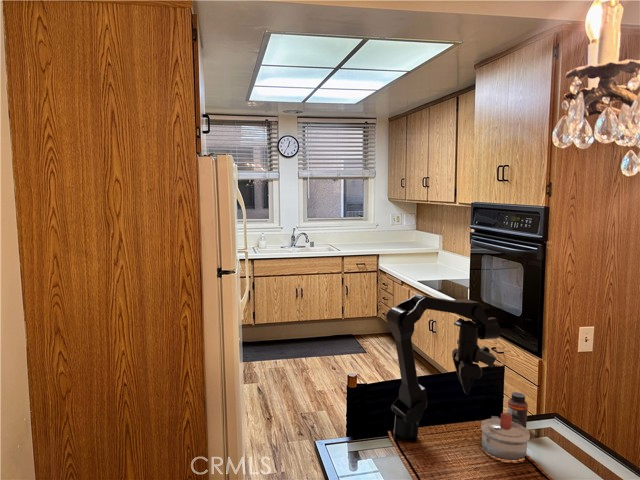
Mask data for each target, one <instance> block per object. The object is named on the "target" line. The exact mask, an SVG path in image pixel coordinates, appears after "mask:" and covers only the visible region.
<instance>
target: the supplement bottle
mask: <svg viewBox="0 0 640 480" xmlns="http://www.w3.org/2000/svg"><path fill="white" fill-rule="evenodd" d="M510 397H511V398H509V399H508V401H507V407H506V409H507V410H506V413H507V414H510V415H512V422H515V423H517V424H519V425H521V426H523V427H525V428H526V429H527V423H528V422H527V421H528V407H529V406H528V403H527V401H526V395H525V394H524V393H522V392H518V391H517V392H516V391H514V392H512V393H511V396H510Z"/></svg>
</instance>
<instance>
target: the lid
mask: <svg viewBox="0 0 640 480" xmlns="http://www.w3.org/2000/svg"><path fill="white" fill-rule="evenodd" d="M480 424H481V425H480V429H481V431H482V433H483V432H484V433H485V434H486V435H488V436H489V437H491V438H494V439H496V440H499V441H502V442H506V443H512V444H521V443H526V442H527V443H528V442H529V441H530V437H531V432H530V431H529V430H528V429H527V427H526V428H525V427H523V426H521V425H519V424H517V423H515V422H512V415H510V414H507V412H501V413H500V417H499V419H495V418H493V419H491V418H486V419H483V420H482V421H481V423H480Z"/></svg>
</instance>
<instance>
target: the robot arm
mask: <svg viewBox="0 0 640 480" xmlns="http://www.w3.org/2000/svg"><path fill="white" fill-rule="evenodd" d="M427 310H431V311H437V312H444V313H449V314H450V313H451V314H455V315H458V316H460V317H459V318H458V319H457V320H456V321H454V322H453V325H455V326H456V327H459V329H458V330H459V333H458V340H457V341H456V343H457V348H454V349H453V350H452V352H451V357H452V361H453V365H454V368H455V371H456V375H457V377H458V381H459V384H461V386H462V389H463V393H464V395H469V394H470V392H471V389H472V388H473V387H472V386H473V385H474V382H475V381H476V380H477V379H480V378H482V377H483V369H482V367H481V366H480V365H479V364H480V363H481V364H484V365H487V366H488V367H489V368H493V367H494V364H495V362H496V361H497V357H496V356H495V355H494V354H493V353H492V352H490V351H491V350H490V348H489V347H487V346H486V345H484V346H482V347H480V346H479V343H478V342H479V340H483V341H484V340H497V339H499V338H500V337H501V335H502V330H501V327H500V324H499V323H498V318H496V317H491V316H490V317H488V315H487V314H486V312H485V310H484V306H483V304H482V303H480V302H478V301H474V300H472V299H468V298H457V299H446V298H440V297H436V296H435V297H434V296H429V295H424V294H422V293H415V294H414V295H413V296H411V297H410V298H409V299H406V300H403V301H402V302H400V303H398V304H396V306H395V307H394V306H393V307H391V308H390V309H389V310H388V311H387V313H386V314H385V320H386V323H387V325H388V329H389V331H390V333H391V334H392V336H393V338H394V341H395V348H396V354H397V355H396V356H397V361H398V366H399V367H398V369H399V372H400V380H401V383H400V386H399V390H398V396H397V398H396V399H395V400H394V402H393V403H391V405H390V407H391V411H392V412H393V413H394V414H395V415H394V426H393V440H394V441H401V442H410V443H417V439H418V438H419V426H420V425H419V423H421V420H422V418H423V415H424V414H425V411H426V409H427V407H428V403H429V399H428V396H427V395H428V391H427V388H426V387H424V386H423V385H421V384H420V383H419V380H418V374H417V367H416V361H415V355H414V348H413V347H414V346H413V341H412V340H413V339H412V337H413V334H414V332H415V324H416V323H418V322H419V321H420V320H421V318H422V317H423V315H424V313H425V312H426V311H427ZM461 317H463V318H461ZM464 318H465V319H468V320H465V319H464Z"/></svg>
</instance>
